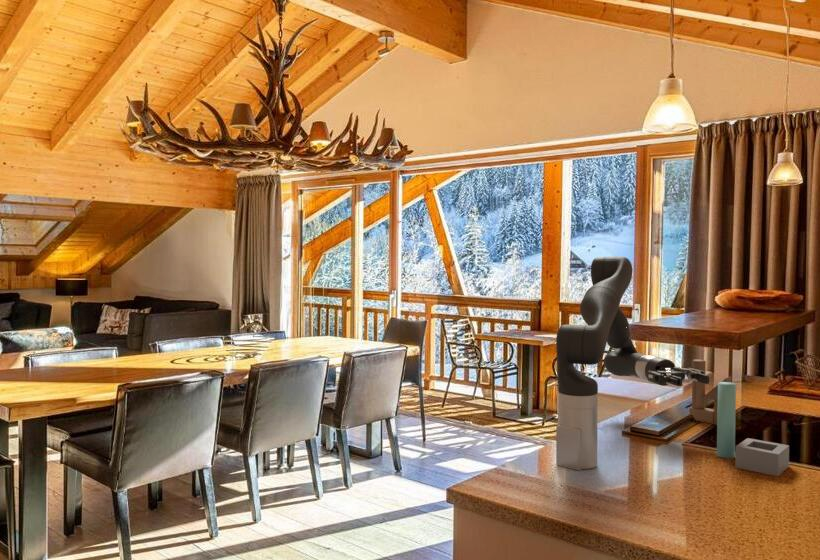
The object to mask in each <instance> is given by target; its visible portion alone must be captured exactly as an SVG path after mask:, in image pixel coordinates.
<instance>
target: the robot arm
mask: <svg viewBox="0 0 820 560" xmlns="http://www.w3.org/2000/svg"><path fill="white" fill-rule="evenodd" d="M632 277H633V266H632V262H631V261H630V259H629V258H628V257H626V256H619V255H618V256H616V255H615V256H599V257H595V258H594V259H593V260H592V261H591V264H590V279H591V283H592V286H590V287H589V288H587V290H586V292H585V294H584V295H583V297H582V300H581V302H580V305H579V311H580V316H581V318H582V320H584V322H585V324H586V325H585V324H584V325H583V324H562V325H560V326H559V328H558V329H557V332H556V339H555V341H556V342H555V343H556V345H555V350H556V371H557V374H556V377H557V378H556V379H557V425H556V429H555V431H556V433H555V437H556V438H555V440H556V441H555V448H556V449H555V454H556V455H555V456H556V457H555V459H556V460H555V464H556V466H559V467H565V468H567V469H573V470H575V471H581V470H589V469H593V468H596V467H597V465H598V416H599V415H598V408H599V407H598V406H599V405H598V403H599V401H598V399H599V398H598V397H599V384H598V382H597V381H596V380H595V379H594V378H593V377H590V376H588V375H586V374H583V373H582V372H580V371H579V370H578V369H577V368H576V367H575V365H576V364H577V365H588V366H589V365H590V366H591V365H593V366H594V365H597V364H599V363H600V362H601V361H602V359H603V366H604V368H605V369H606V370H607V371H608V372H609V373H610V374H612V375H614V376H618V377H630V376H633V377H637V378H640V379H641V380H643V381H647V382H650V383H653V384H655V385H659V386H668V385H673V386H677V387H683V382H684V383H690V382H692V381H697V382H701V383H705V385H707V384H710V376H709V375H707V374H706V375H705V374H704V371H701V370H697V369H693V367H692V368H691V367H686V368H684V367H683V368H682V367H680V366H676V364H675V363H674V362H673V361H672V360H670V359H668V358H664V357H659V356H655V355H648V354H644V353H642V352H638V351H637V349H636V347H635V345H634V343H633V341H632V338H631V333H630V326H629V325H630V324H629V321H628V317H627V316H626V313H624V311H623V310H622V308H620V303H621V300H622V298H623V296H624V294H625V292H626V291H627V289H628V288H629V286H630V284H631V282H632V281H631V280H632ZM626 327H627V328H626ZM629 336H630V337H629ZM629 338H630V339H629ZM607 345H608V347H610V348H612V349H614V350H612V351H610V352H609V353H607V354H605V350H606V347H607ZM604 354H605V356H604ZM574 364H575V365H574Z"/></svg>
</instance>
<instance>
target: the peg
mask: <svg viewBox="0 0 820 560" xmlns="http://www.w3.org/2000/svg"><path fill="white" fill-rule="evenodd" d="M717 385H718V409H717V425H716V456H717V457H720V458H721V459H735V452H736V412H737V411H736V405H737V404H736V400H737V398H736V397H737V393H736V392H737V384H736V383H734V382H731V383H730V382H722V381H720V382H718V383H717Z"/></svg>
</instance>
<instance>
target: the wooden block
mask: <svg viewBox="0 0 820 560" xmlns="http://www.w3.org/2000/svg"><path fill="white" fill-rule="evenodd" d="M706 364H707V363H706V360H704V359H693V360H692V368H693V369H697V370H701V371H704V374H705V375H707V374H706V371H707V370H706V369H707V368H706V367H707V366H706ZM691 382H692V383H691V387H692V388H691V401H692V402H691V407H689V410H688V411H689V414H692V415H693V417H694V418H695V420H696V421H695V420H694V421H695V422H701V423H705V424H706V423H708V424H712V425H716V426H717V409H718V384H716V385H715V386H714V387H713V388H712V389H711V390H710V391H708V392H707V393H706V384H705V383H701V382H697V381H691ZM721 382H730V383H732V376H731V375H730V376H728V377H725V378H724V379H723V380H722V381H721ZM706 400H712V401H713V408H709V407H708V408H707V407H706ZM689 414H688V415H689Z"/></svg>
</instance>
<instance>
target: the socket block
mask: <svg viewBox="0 0 820 560" xmlns="http://www.w3.org/2000/svg"><path fill="white" fill-rule="evenodd" d="M734 459H735V462H734V463H735V466H734V467H735V468H737V469H742V470H745V471H751V472H756V473H760V474H766V475H770V476H775V477H779V476H780V475H781V474H782V473H784V472H785V471H786V470H787V468H789V466H790V445H788V444H783V443H778V442H772V441H768V440H760V439H756V438H749V437H747V438H745V439H744V440H742V441H741V442H739V443H738V444H736V445H735V457H734Z"/></svg>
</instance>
